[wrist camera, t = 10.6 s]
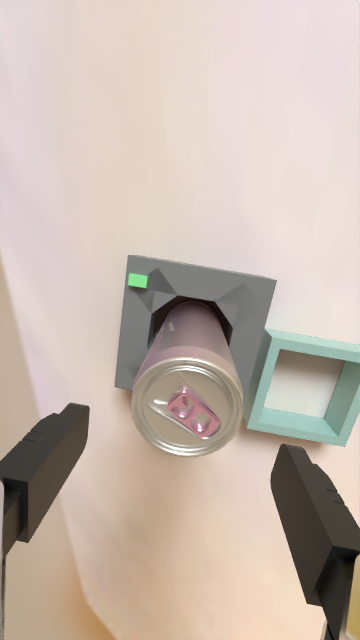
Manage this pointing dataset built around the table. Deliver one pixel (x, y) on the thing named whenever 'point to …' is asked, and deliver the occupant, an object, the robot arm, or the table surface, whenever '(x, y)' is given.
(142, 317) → the port
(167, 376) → the beverage can
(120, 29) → the table surface
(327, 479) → the robot arm
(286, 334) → the teal square frame
